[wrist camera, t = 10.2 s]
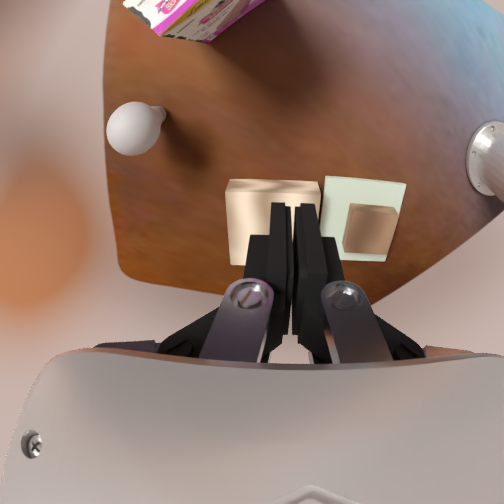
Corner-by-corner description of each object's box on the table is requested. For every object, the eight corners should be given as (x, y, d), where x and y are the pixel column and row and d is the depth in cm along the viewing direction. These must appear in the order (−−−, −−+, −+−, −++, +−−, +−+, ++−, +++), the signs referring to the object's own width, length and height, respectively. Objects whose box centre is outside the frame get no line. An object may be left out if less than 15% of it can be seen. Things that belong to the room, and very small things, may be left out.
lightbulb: (170, 141, 36) (136, 172, 28) (133, 124, 35) (90, 151, 26) (188, 102, 33) (155, 121, 24) (148, 85, 31) (105, 99, 23)
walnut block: (353, 211, 37) (349, 202, 39) (344, 252, 41) (341, 242, 43) (399, 215, 37) (393, 207, 39) (387, 254, 41) (383, 245, 43)
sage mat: (404, 183, 37) (406, 185, 36) (383, 259, 45) (384, 261, 45) (325, 175, 38) (326, 177, 37) (315, 256, 46) (315, 258, 46)
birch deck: (317, 181, 38) (321, 194, 35) (309, 251, 46) (311, 267, 43) (229, 179, 39) (225, 191, 36) (234, 248, 47) (230, 264, 43)
